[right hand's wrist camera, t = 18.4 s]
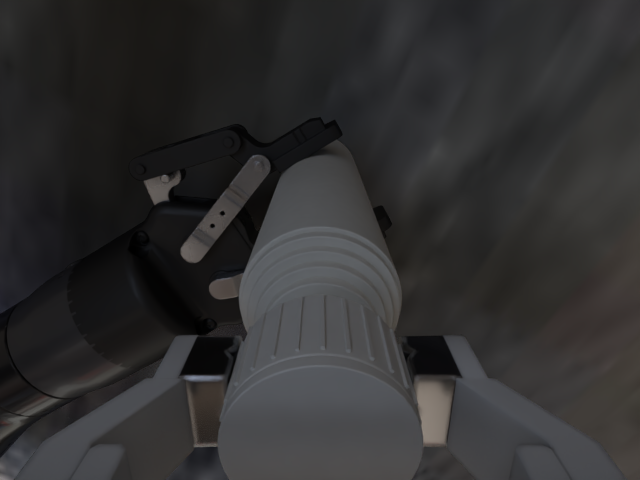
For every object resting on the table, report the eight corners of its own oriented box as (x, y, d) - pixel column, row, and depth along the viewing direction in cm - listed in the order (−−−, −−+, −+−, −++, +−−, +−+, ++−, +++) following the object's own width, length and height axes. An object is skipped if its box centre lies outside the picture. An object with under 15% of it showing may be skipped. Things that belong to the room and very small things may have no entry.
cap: (299, 259, 9) (292, 323, 7) (436, 349, 10) (471, 432, 8) (208, 379, 10) (175, 468, 8) (337, 450, 11) (341, 549, 9)
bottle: (361, 198, 30) (457, 498, 9) (293, 211, 31) (233, 530, 9) (348, 129, 29) (432, 297, 7) (277, 143, 29) (158, 346, 8)
